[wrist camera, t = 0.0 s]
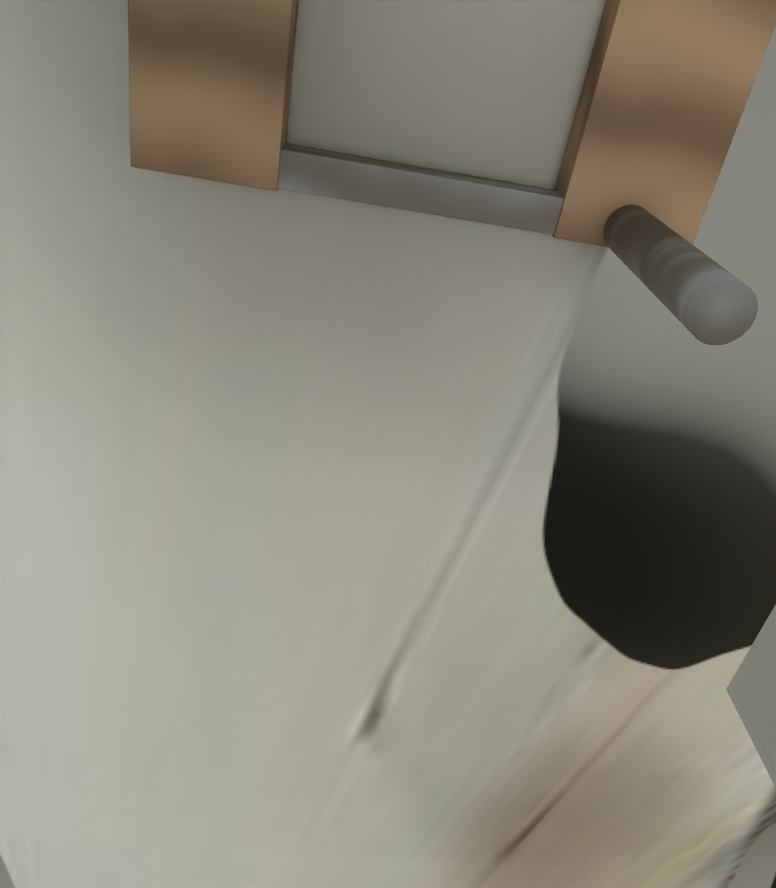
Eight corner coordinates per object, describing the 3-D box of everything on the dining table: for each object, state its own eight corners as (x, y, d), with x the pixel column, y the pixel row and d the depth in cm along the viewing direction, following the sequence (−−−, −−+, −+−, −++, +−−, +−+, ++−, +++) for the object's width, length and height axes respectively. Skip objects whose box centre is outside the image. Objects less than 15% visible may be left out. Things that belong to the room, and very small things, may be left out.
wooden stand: (143, -168, 30) (-28, -297, 18) (774, -38, 33) (1012, -72, 20) (145, 162, 37) (21, 235, 24) (669, 250, 39) (800, 358, 27)
